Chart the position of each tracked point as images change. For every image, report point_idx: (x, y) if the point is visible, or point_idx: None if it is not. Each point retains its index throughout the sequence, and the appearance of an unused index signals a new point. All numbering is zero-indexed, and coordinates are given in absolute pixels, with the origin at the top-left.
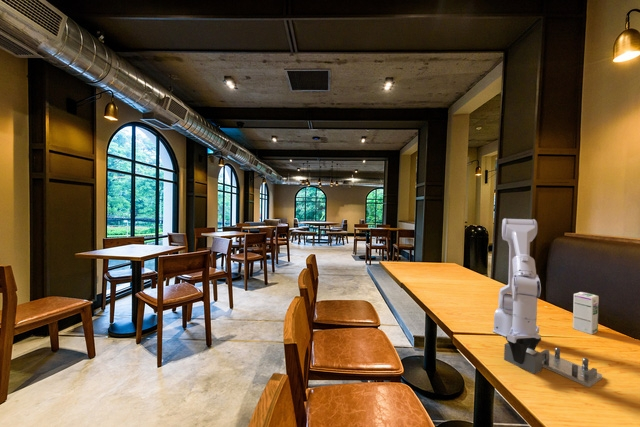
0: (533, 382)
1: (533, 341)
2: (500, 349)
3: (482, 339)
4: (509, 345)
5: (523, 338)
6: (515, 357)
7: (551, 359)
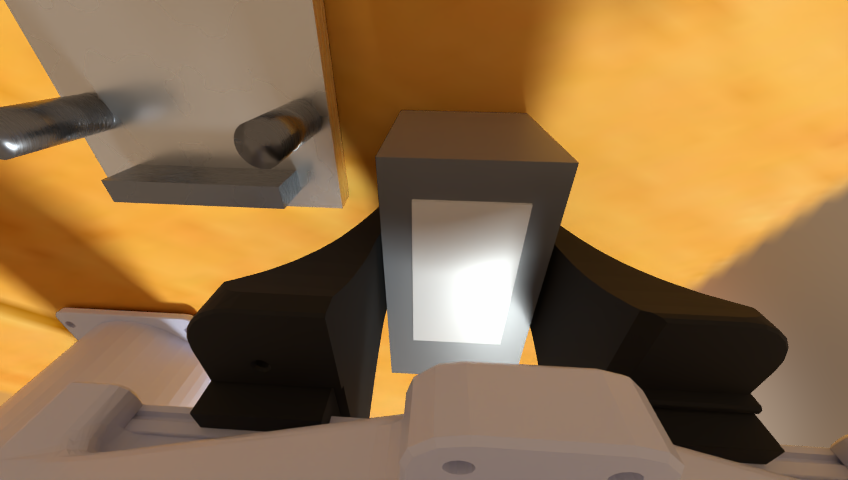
0: (681, 61)
1: (353, 314)
2: (386, 331)
3: (372, 395)
4: (508, 358)
5: (368, 378)
6: None
7: (184, 125)
